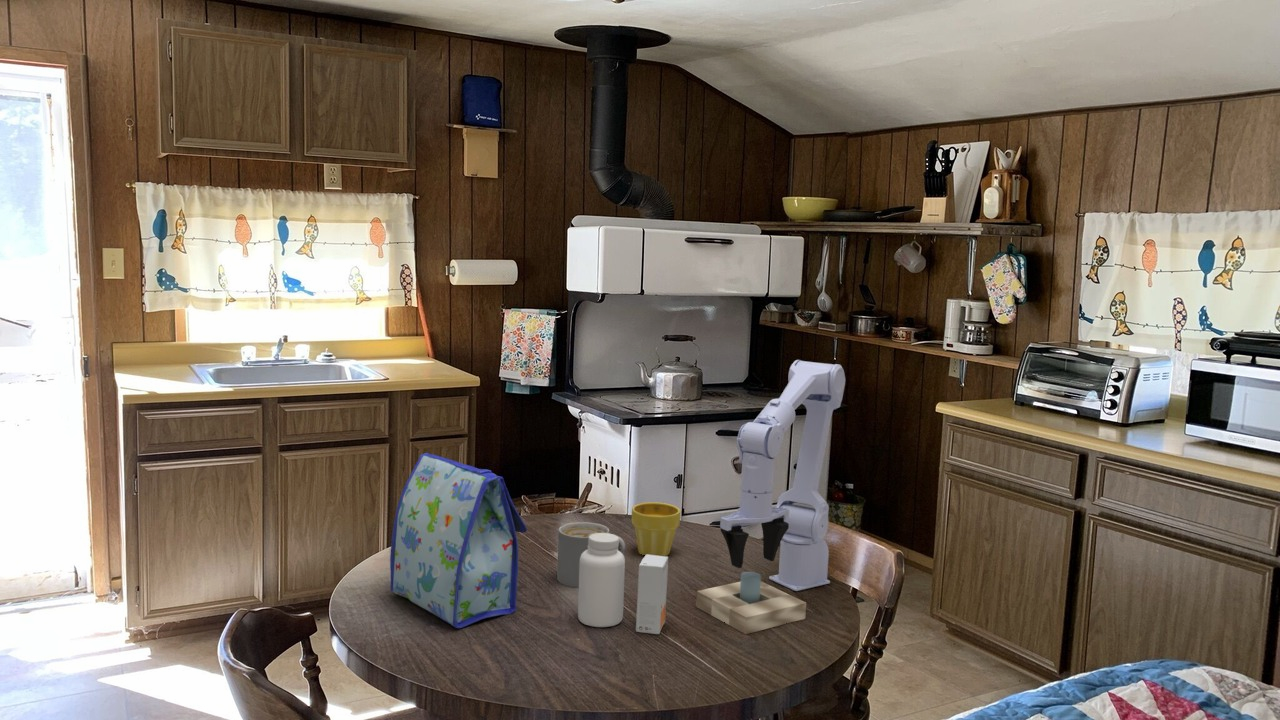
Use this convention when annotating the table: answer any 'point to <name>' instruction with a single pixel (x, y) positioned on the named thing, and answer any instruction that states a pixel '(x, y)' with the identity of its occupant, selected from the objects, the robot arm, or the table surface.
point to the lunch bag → (456, 542)
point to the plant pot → (655, 527)
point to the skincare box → (651, 594)
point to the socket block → (751, 607)
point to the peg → (750, 587)
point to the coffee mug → (576, 549)
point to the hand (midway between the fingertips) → (752, 562)
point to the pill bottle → (601, 582)
